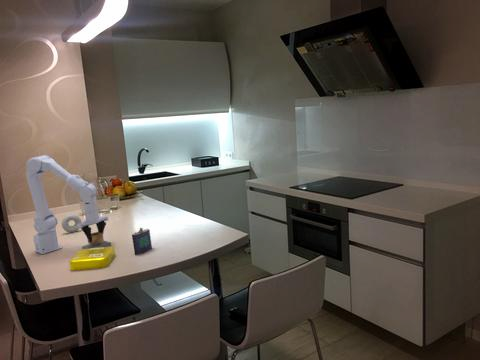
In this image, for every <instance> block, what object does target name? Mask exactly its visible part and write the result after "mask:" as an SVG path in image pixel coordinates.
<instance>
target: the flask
mask: <svg viewBox="0 0 480 360" xmlns="http://www.w3.org/2000/svg"><path fill="white" fill-rule="evenodd" d="M131 237H132V239H131V240H132V243H133V244H132V245H133V251H134V255H135V256H136V255H138V256H139V255H140V254H144V253H146V252H148V251H150V250H152V248H153V245H152V239H151V230H150V229H149V228H145V229H144V228H143V227H139V229H138V231H135V232H134V233H132V235H131Z"/></svg>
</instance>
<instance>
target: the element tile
mask: <svg viewBox="0 0 480 360" xmlns="http://www.w3.org/2000/svg"><path fill="white" fill-rule="evenodd" d="M115 258H116V249H115V246H112V245H111V246H108V247H100V248H88V249H82V248H81V249H80V250H79V251H77V253H76V254H75V255H74V256H73V257H72V258H70V260H69V261H68V262H69V267H70V271H73V272H74V271H75V272H76V271H86V270H87V271H88V270H97V269H105V268H107V267H109V266H110V264H111V263H112V262H113V260H114V259H115Z"/></svg>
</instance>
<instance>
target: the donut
mask: <svg viewBox="0 0 480 360" xmlns="http://www.w3.org/2000/svg"><path fill="white" fill-rule="evenodd" d="M71 221H73V222H74V225H70V224H69V223H70V222H71ZM82 222H83V221H82V219H81V217H80V216H79V215H77V214H75V213H70V214H66V215H65V216H64V217H63V219H62V220H61V228H62V229H63V230H64V231H65V232H67V233H75V232H78V230H80V229H78V228H77V224H79V223H82Z"/></svg>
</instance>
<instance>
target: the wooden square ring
mask: <svg viewBox="0 0 480 360" xmlns="http://www.w3.org/2000/svg"><path fill="white" fill-rule="evenodd" d="M91 237H92V241H91V242H90V241H88V240H87V243H88V244H93V245H95V244H98V243H101V242H104V241H105V240H104V232H103V233H100V232H98V231H95V232H91Z"/></svg>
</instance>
